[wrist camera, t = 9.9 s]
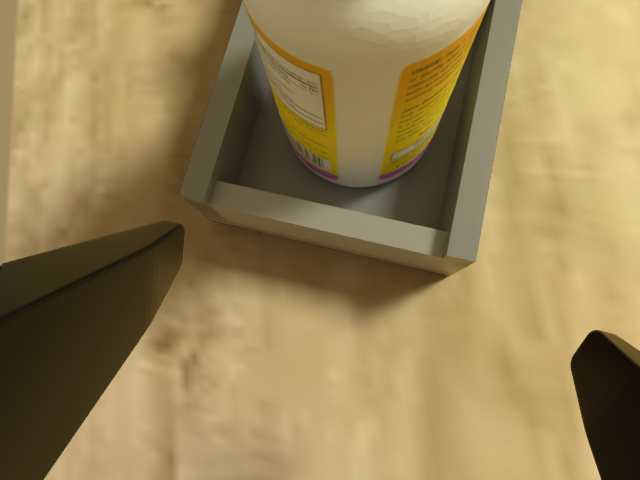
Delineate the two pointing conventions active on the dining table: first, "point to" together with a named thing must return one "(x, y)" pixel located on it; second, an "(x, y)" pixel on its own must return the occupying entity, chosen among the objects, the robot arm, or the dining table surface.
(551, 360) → the dining table surface
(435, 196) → the tray
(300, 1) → the supplement bottle
